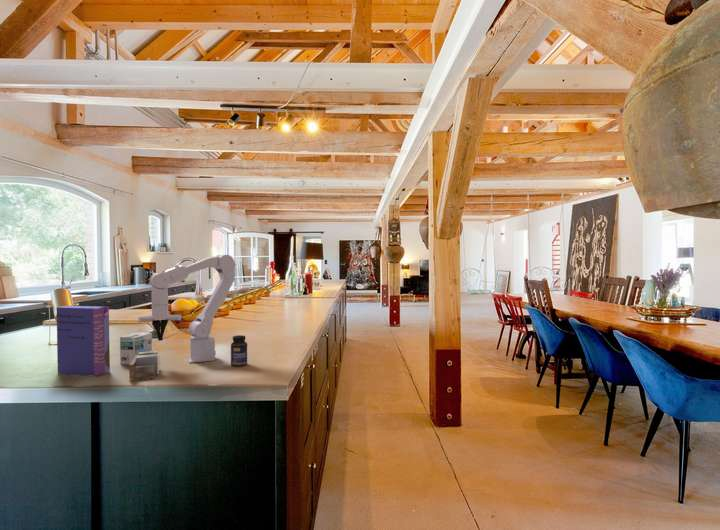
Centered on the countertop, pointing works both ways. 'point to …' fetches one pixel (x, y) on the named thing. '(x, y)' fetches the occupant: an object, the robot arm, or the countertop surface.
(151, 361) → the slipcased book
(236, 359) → the pill bottle
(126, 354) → the light bulb box
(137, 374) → the shelf
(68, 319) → the cereal box
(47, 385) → the countertop surface
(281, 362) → the countertop surface
